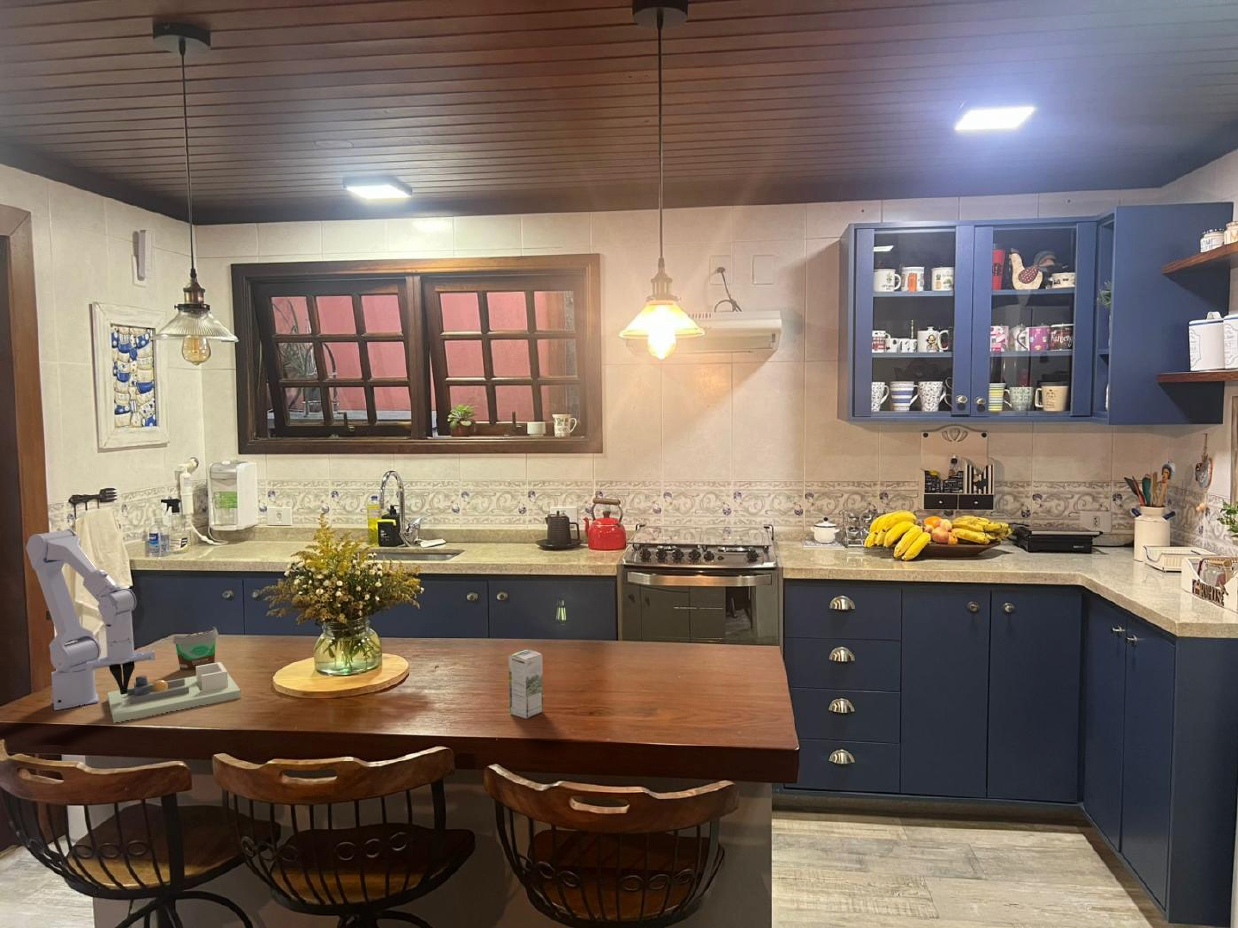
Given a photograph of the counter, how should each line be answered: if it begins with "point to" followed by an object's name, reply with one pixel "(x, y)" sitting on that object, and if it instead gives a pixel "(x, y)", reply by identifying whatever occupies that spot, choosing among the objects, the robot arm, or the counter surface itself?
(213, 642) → the food container
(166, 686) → the ball
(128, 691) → the board
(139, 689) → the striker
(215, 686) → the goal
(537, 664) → the syrup box
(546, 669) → the counter surface
